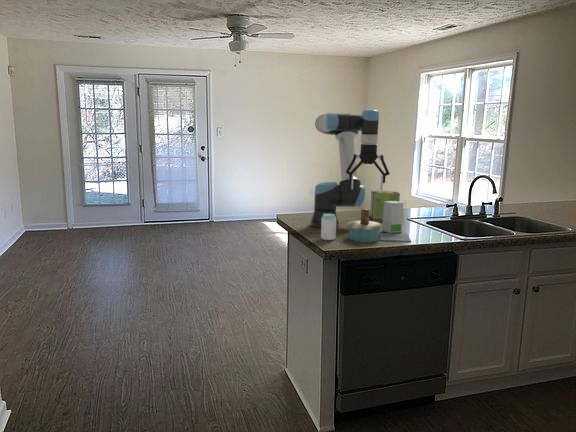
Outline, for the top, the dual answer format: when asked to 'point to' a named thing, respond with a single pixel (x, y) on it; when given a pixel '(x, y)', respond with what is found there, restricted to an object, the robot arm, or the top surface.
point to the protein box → (381, 202)
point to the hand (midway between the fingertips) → (366, 189)
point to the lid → (364, 222)
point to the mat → (394, 237)
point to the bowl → (364, 235)
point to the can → (328, 227)
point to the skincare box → (392, 216)
